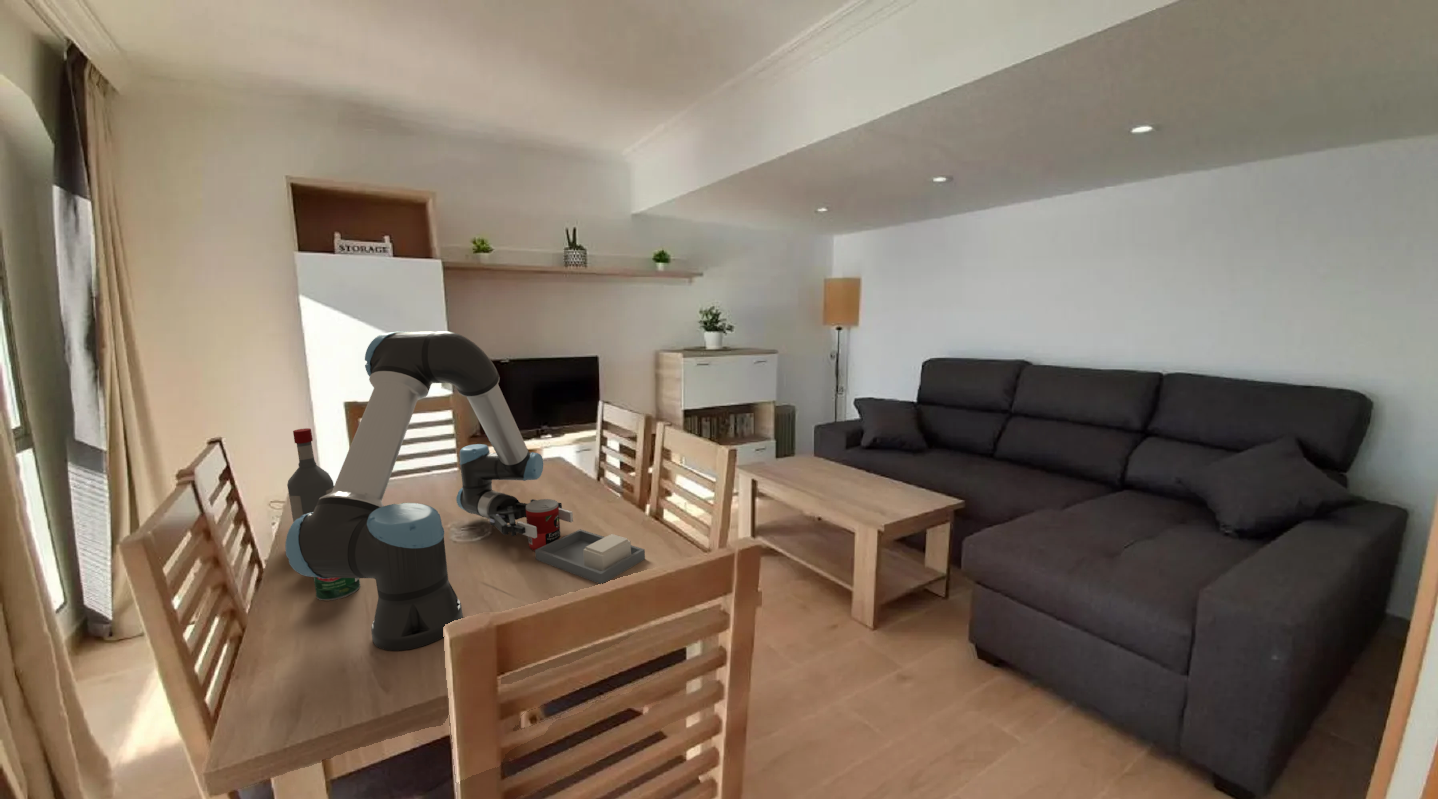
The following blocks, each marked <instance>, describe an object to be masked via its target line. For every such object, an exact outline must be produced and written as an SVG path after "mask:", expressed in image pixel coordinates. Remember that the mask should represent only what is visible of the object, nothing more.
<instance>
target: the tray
mask: <svg viewBox="0 0 1438 799" xmlns="http://www.w3.org/2000/svg"><path fill="white" fill-rule="evenodd" d="M604 537H605V536H602V535H600V534H597V533H594V532H591V531H588V530H584V529H577V530H575V531H573V532H571V533H569V534H566V535H565V536H562V537H561V538H560V539H558V540H556V541H553V542H551V543H549V544H547V545H545V546H542V547H540V548H538V549H536V550H535V551H534V553H535V554H534V557H535V560H536V561H538V562H541V563H544V564H547V565H548V566H552V567H554V568H557V569H560V570H562V571H565V572H567V573H569V574H570V573H571V574H572V575H575V576H578V577H581V578H583V579H586V580H589V581H591V582H593V583H596V584H599V585H601V583H603V584H605V583H607V582H608V580H609V581H610V580H612V579H613V578H615V577H617V576H619V575H620V574H622V573H624V572H625V571H627V570H629V569H631V568H632V567H634V566H636V565H637V564H639V563H641V562H642V561H644V560H646V555H645V554H646V550H645V548H642V547H638V546H635V545H632V544H631V555H630V556H628V557H626V558H624V559H623V560H621V561H619V562H617V563H615V564H614V565H612V566H610V567H608V568H607V569H605V570H603V571H598V570H595V569H593V568H590V567H587V566H584V553H583V549H585V548H586V546H588V545H590V544H592V543H594V542H596V541H598V540H600V539H602V538H604ZM606 581H607V582H606ZM597 582H598V583H597ZM604 582H605V583H604Z"/></svg>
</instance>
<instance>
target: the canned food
mask: <svg viewBox="0 0 1438 799" xmlns="http://www.w3.org/2000/svg"><path fill="white" fill-rule="evenodd" d="M535 500H536V501H532V502H531V501H530V502H528V503H526V504H527V505H526V517H525V518H526V523H527V524H530V525H533V526H536V529H537V538H532V537H529V536H527V540H528V546H529V548H530V549H531V550H532V551H534V552H535V550H536V549H538V548H540V547H542V546H545V545H547V544H549V543H551V542H553V541H556V540H558V539H560V538H562V537H561V525H560V524H561V523H560V522H561V521H560V519H559V507H558V503H559V502H558V501H557V500H555V499H549V498H541V499H535Z"/></svg>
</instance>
